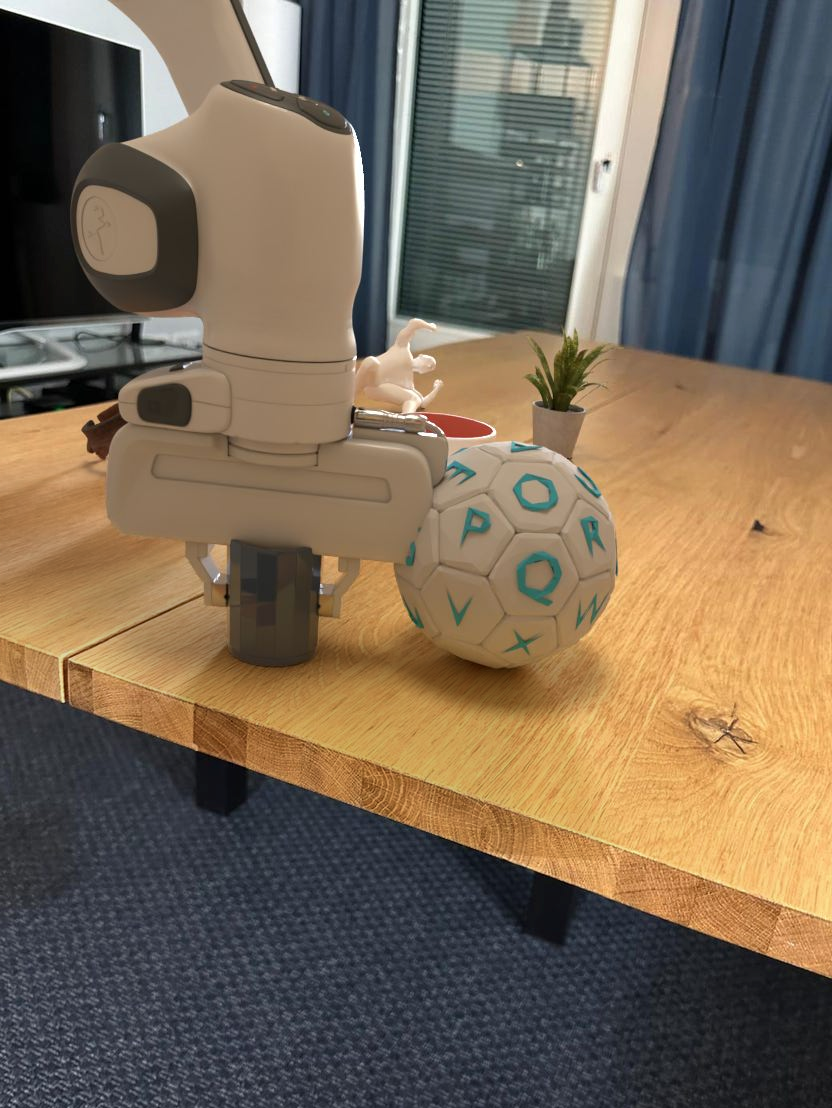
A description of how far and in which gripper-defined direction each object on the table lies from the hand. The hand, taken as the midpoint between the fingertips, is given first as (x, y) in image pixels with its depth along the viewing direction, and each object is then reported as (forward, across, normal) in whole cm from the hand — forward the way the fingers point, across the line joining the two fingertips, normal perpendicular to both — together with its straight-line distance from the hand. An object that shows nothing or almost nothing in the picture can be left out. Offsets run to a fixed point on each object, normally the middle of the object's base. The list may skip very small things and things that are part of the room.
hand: (273, 608), depth 61 cm
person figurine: (+3, -3, -79) cm, 79 cm away
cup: (+3, -10, -28) cm, 30 cm away
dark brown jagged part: (+3, +20, -39) cm, 44 cm away
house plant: (+3, -26, -63) cm, 68 cm away
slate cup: (+3, 0, 0) cm, 3 cm away
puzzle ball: (+3, -15, -2) cm, 15 cm away
